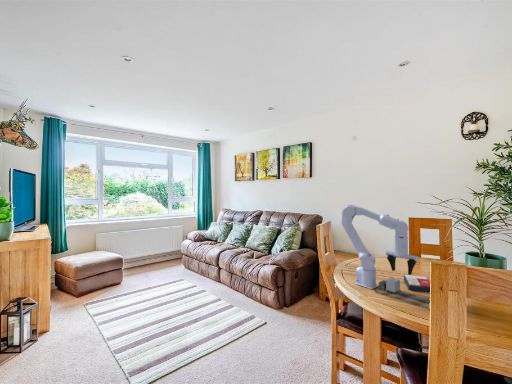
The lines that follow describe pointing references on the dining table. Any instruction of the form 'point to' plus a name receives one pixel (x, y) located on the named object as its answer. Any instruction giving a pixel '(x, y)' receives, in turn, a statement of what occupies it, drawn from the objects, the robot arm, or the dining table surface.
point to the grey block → (393, 284)
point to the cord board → (403, 296)
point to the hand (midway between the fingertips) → (401, 272)
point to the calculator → (417, 283)
